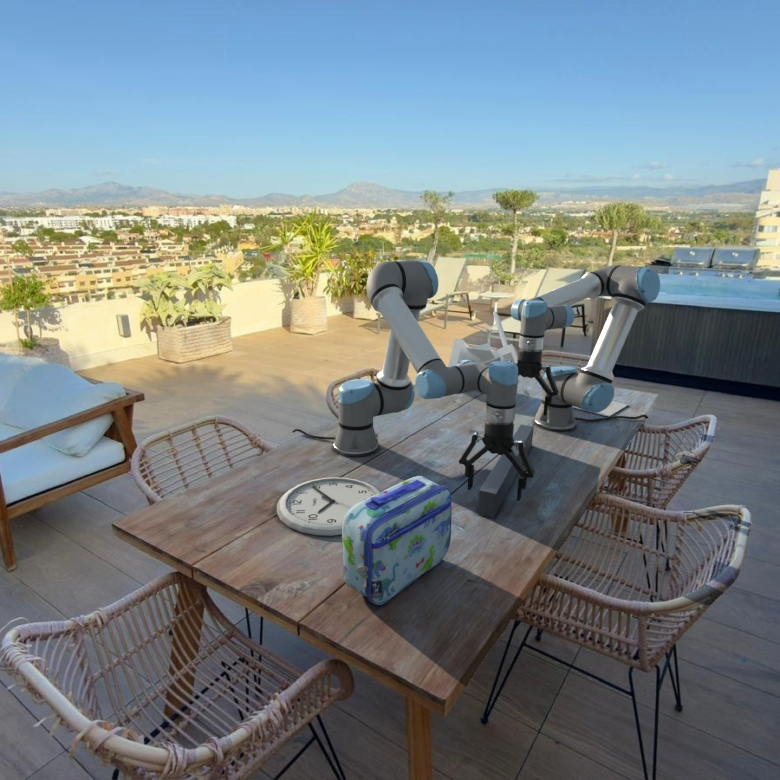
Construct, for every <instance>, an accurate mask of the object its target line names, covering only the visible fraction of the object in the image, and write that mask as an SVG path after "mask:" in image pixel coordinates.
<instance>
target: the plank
mask: <svg viewBox="0 0 780 780" xmlns="http://www.w3.org/2000/svg"><path fill="white" fill-rule="evenodd" d="M534 429H535V427H534V426H532V425H526V424H519V427H518V428H517V430H516V432H515V433H514V434H513V439H514V441H521V440H524V441H525V449H526V451H527V454H528V453H529V452H530V450H531V448H532V445H533V437H534ZM512 450H513V451H514V454H515V455H516V457H517V458H518V459H519V461H520V462H521V464H522V465H523V464H524V463H523V461H522V458H521V456H520V453H519V450H518V449H517V448H516V446H514V445H513V447H512ZM528 455H529V454H528ZM518 474H519V473H518V471H517V470H516V468H515V467H514V466H513V464H512V463H511V461H510V460H509V459H508V458H507V457H506V456H505V454H503V455H500V457H499V458H498V460H497V462H496V463H495V465H494V466H493V468H492V470H491V472H490V473H489V474H488V476H487V478H486V479H485V481H484V483H483V484H482V486H481V487H480V489H479V492H478V506H477V515H479V516H483V517H487V518H491V519H495V517H496V515H497V514H498V512H499V510H500V508H501V506H502V504H503V502H504V500H505V498H506V496H507V494H508V493H509V491H510V489H511V486H512V484H513V482H514V481H515V479H516V477H517V475H518Z"/></svg>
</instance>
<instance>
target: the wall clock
mask: <svg viewBox="0 0 780 780" xmlns="http://www.w3.org/2000/svg"><path fill="white" fill-rule="evenodd" d="M380 492H382V491H381V490H380V489H379V488H377V487H376V486H374V485H372V484H371V483H369V482H365V481H362V480H359V479H355V478H349V477H338V476H337V477H335V476H333V477H332V476H331V477H322V478H317V479H312V480H307V481H305V482H302V483H299V484H297V485H295V486H293V487H292V488H290V489H288V490H287V491H286V492H285V493H284V494H283V495H281V496H280V498H279V499H278V502H277V503H276V515H277V517H278V518H279V520H280V521H281V522H282V523H283V524H285V525H286V526H287V527H288V528H290V529H293V530H295V531H297V532H299V533H303V534H308V535H312V536H327V537H328V536H329V537H331V536H332V537H333V536H342V525H343V521H344V518H345V516H346V514H347V512H348V511H349V510H350V509H351V508H352V507H353V506H354V505H356V504H358V503H360V502H362V501H364V500H366V499H368V498H370V497H372V496H374V495H376V494H378V493H380Z"/></svg>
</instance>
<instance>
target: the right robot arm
mask: <svg viewBox="0 0 780 780" xmlns="http://www.w3.org/2000/svg"><path fill="white" fill-rule="evenodd" d="M660 289H661V279H660V275H659V273H658V272H657V271H656V269H654V268H651V267H645V266H636V265H635V266H633V265H623V264H612V265H607V266H604V267H600V268H597V269H594V270H592V271H590V272H589V271H588V272H587V273H584V274H583V275H582V276H581V278H579V279H576V280H574V281H572V282H569V283H567V284H564V285H562V286H560V287H557V288H554V289H552V290H549V291H547V292H544V293H542V294H540V295H537V296H534V297H532V298H529V299H524V298H523V299H522V298H521V299H520V298H519V299H516V300H514V301H513V303H512V305H511V307H510V315H511V317H512V319H513V320H515V321H519V322H520V328H519V329H520V331H519V341H518V348H519V349H518V352H517V355H518V361H517V363H515V362H514V361H513V360H508V362H512V363H514V364H516V365H517V367H518V377H519V375H521V376H522V377H524V378H529V379H533V378H534V379H535V380H536V381H537V382H538V384H539V385H540V387H541V388H542V392H541V402H540V405H539V407H538V410H537V411H536V413H535V417H534V424H535V425H536V426H537V427H539V428H542V429H544V430H549V431H556V432H567V431H572V430H574V429H575V428H576V421H581V422H582V421H583V422H588V423H590V422H591V423H593V422H601V421H607V420H613V419H626V420H638V419H641V418H645V419H649V416H648V415H646V414H641V415H637V416H627V415H611V416H609V417H608V416H605V417H601V418H600V417H599V418H583V417H577V416H575V413H574V407H578V408H581V409H583V410H582V411H584V410H585V411H584V412H588V411H590V412H589V413H592V412H593V414H596V413H598V412H601V411H602V410H605V409H606V408H607V407H608V406H609V405H610V403H611V402H612V401H614V397H615V387H614V385H612V384H613V382H614V380H613V377H612V373H613V370H614V368H615V365H616V363H617V361H618V358H619V356H620V354H621V351H622V349H623V347H624V345H625V342H626V340H627V337H628V336H629V333H630V330H631V329H632V326H633V324H634V321H635V319H636V317H637V315H638V313H639V312H640V311H643V310H644V309H645V307H646V305H647V304H649V303H653V302H654V301H655V300H657V298H658V296H659V293H660V291H661V290H660ZM598 297H608V298H609V297H610V300H611V303H612V306H611V309H610V311H609V313H608V316H607V318H606V320H605V323H604V325H603V327H602V330H601V332H600V334H599V336H598V339H597V341H596V343H595V346H594V348H593V351H592V353H591V355H590V358H589V360H588V362H587V364H586V366H584V367H581V368H580V370H579V371H578V369H577V367H574V366H567V365H557V366H551V365H550V364H548V365H542V361H543V360H542V359H543V358H542V357H543V349H544V340H545V332H546V331H547V330H557V329H562V330H563V329H564V328H568V327H570V326H572V325H573V323H574V321H575V311H574V308H572V307H571V306H572V305H574V304H577V303H580V302H582V301H584V300H587V299H596V298H598ZM541 371H543V372H544V375H543V376H542V374H541V373H540V372H541Z"/></svg>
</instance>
